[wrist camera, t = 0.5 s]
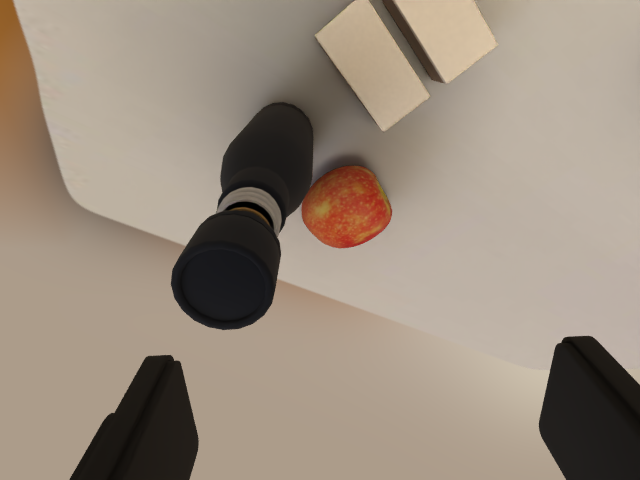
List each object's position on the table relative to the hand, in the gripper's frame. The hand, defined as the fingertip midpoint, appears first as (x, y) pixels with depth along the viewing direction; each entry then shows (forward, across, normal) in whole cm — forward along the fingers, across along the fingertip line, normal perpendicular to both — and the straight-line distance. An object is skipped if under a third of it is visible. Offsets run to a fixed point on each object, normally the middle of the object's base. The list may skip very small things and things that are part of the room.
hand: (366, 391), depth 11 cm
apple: (+36, -1, +6) cm, 36 cm away
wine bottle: (+36, +5, 0) cm, 36 cm away
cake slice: (+35, -9, -10) cm, 38 cm away
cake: (+35, -4, -6) cm, 36 cm away
